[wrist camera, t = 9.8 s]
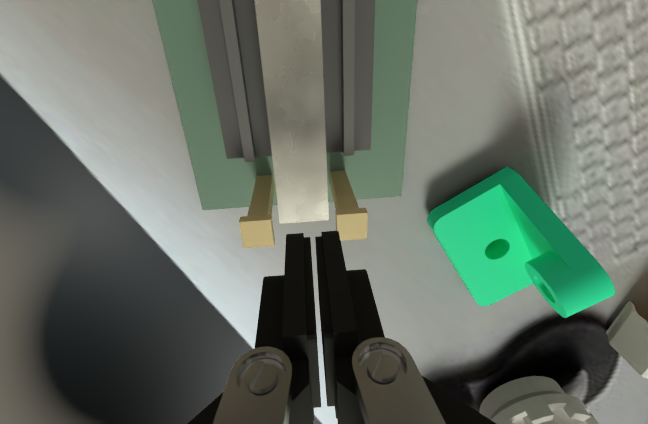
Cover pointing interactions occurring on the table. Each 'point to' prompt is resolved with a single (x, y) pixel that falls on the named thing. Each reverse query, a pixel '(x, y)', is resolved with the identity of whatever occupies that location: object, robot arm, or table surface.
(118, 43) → the table surface
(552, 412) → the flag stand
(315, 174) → the retention strap
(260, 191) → the board
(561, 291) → the camera mount
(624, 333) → the diorama
